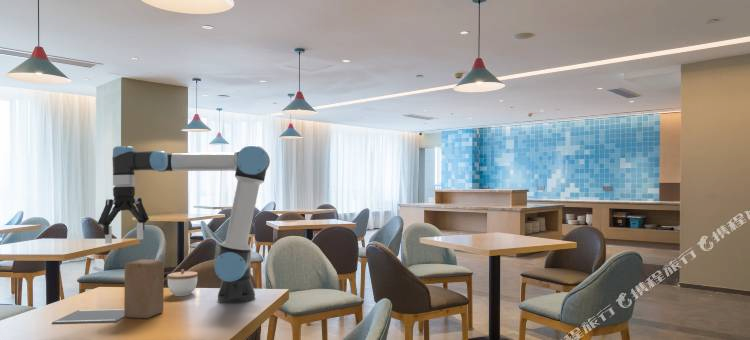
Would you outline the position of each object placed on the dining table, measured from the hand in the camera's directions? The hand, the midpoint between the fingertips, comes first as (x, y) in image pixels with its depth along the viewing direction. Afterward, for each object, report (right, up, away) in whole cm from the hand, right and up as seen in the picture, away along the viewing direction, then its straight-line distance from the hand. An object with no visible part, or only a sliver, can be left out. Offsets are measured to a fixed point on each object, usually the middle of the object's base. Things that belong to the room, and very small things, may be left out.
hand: (124, 241), depth 191 cm
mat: (-6, -27, -9) cm, 29 cm away
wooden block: (+11, -27, -7) cm, 30 cm away
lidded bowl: (+11, -28, +28) cm, 41 cm away
